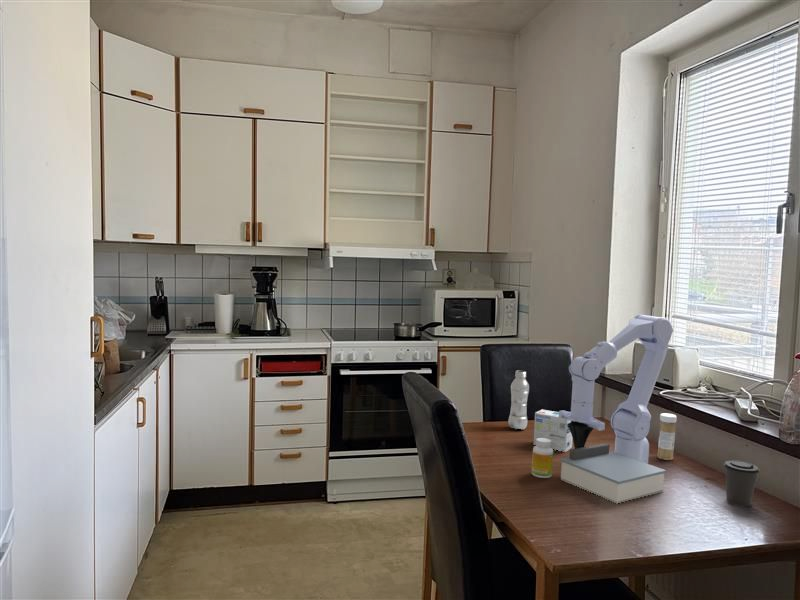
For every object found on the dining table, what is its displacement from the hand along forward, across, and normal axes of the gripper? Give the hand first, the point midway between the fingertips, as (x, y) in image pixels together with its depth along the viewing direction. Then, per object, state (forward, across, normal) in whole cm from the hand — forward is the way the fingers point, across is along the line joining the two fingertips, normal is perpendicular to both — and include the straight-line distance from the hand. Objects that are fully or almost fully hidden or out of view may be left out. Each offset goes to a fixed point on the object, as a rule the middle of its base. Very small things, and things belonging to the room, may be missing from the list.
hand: (579, 449), depth 170 cm
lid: (+1, +11, 0) cm, 11 cm away
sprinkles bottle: (+7, +3, +35) cm, 36 cm away
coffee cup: (+7, +33, +21) cm, 40 cm away
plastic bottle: (+7, -40, +15) cm, 43 cm away
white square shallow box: (+6, +11, 0) cm, 13 cm away
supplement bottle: (+7, -3, -11) cm, 13 cm away
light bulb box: (+7, -20, +11) cm, 24 cm away
